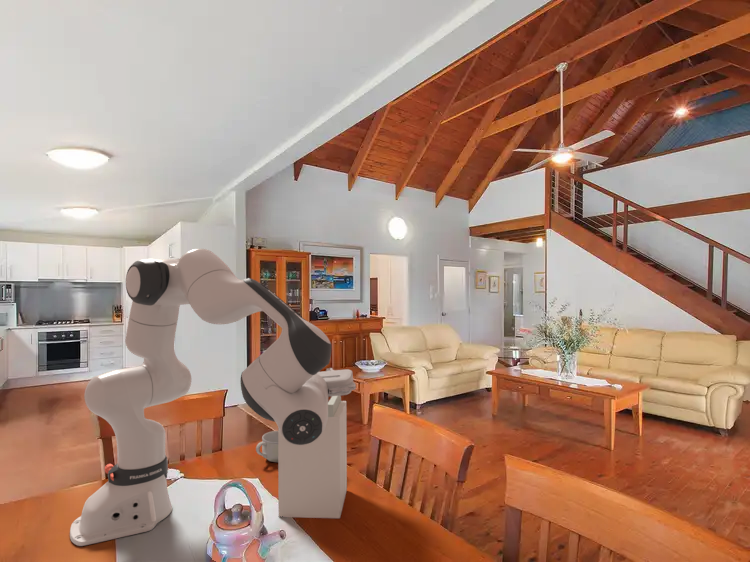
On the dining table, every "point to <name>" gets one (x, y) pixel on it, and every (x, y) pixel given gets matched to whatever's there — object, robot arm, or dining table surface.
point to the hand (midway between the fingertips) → (310, 372)
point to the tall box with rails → (315, 470)
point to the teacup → (269, 446)
